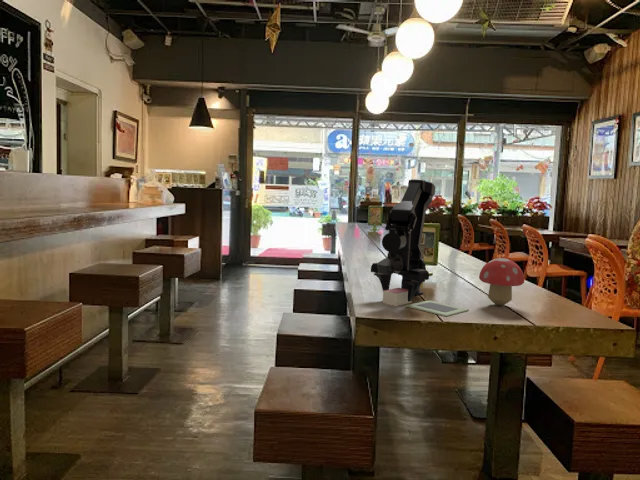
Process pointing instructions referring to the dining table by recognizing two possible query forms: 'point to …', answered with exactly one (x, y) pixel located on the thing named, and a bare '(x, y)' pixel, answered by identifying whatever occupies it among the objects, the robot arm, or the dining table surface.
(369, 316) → the dining table surface
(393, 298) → the card box
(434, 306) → the mat
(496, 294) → the decorative mushroom
